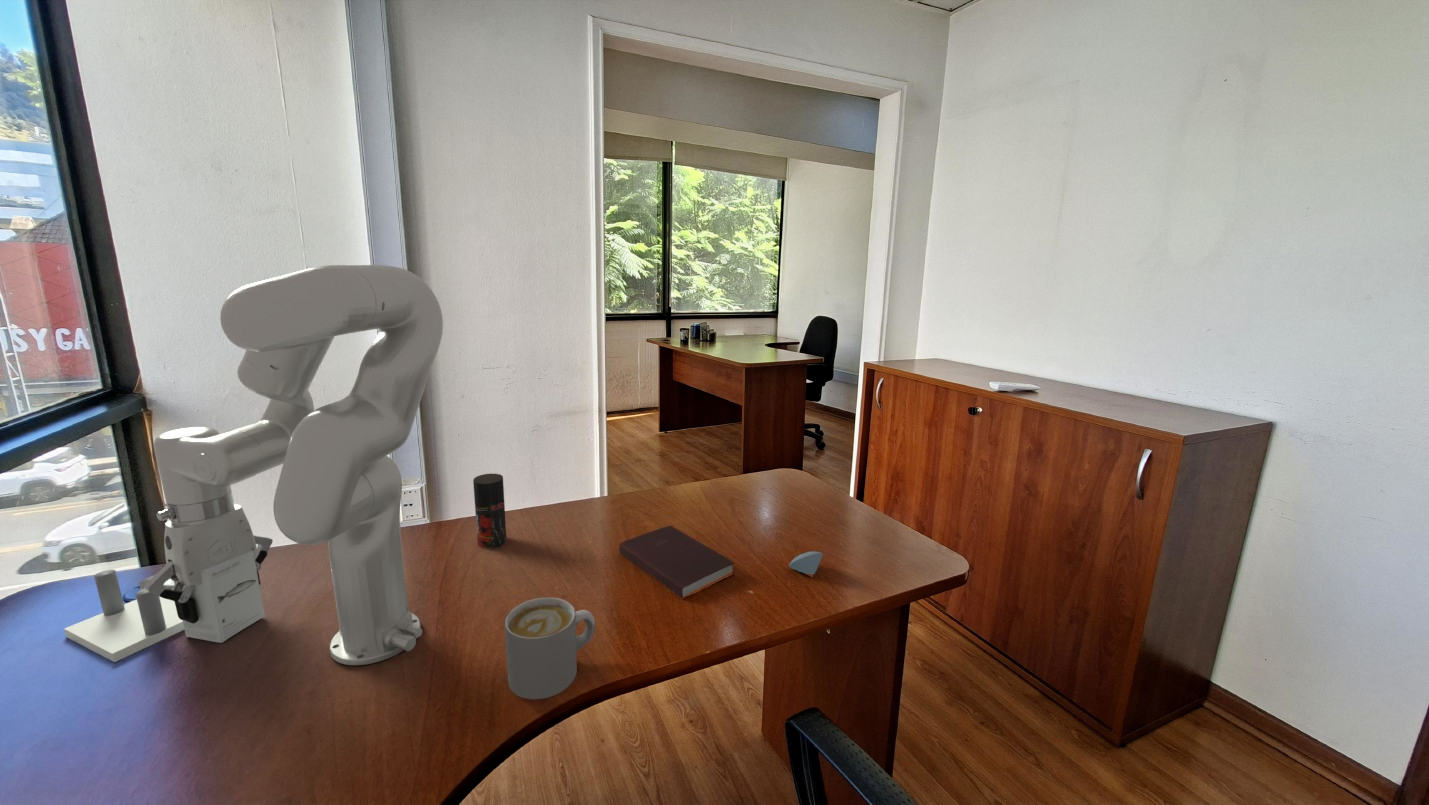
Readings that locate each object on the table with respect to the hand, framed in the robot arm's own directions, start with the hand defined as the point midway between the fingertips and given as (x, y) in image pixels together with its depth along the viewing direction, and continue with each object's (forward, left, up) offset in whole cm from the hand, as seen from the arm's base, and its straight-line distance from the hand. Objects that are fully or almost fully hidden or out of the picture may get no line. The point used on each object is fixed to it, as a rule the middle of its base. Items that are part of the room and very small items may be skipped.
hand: (222, 605), depth 91 cm
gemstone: (-84, -59, -4) cm, 102 cm away
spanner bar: (+17, -4, -4) cm, 18 cm away
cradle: (+12, +6, -4) cm, 14 cm away
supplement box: (0, 0, -4) cm, 4 cm away
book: (-58, -50, -5) cm, 77 cm away
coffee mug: (-55, -14, -4) cm, 57 cm away
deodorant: (-18, -41, -4) cm, 45 cm away
